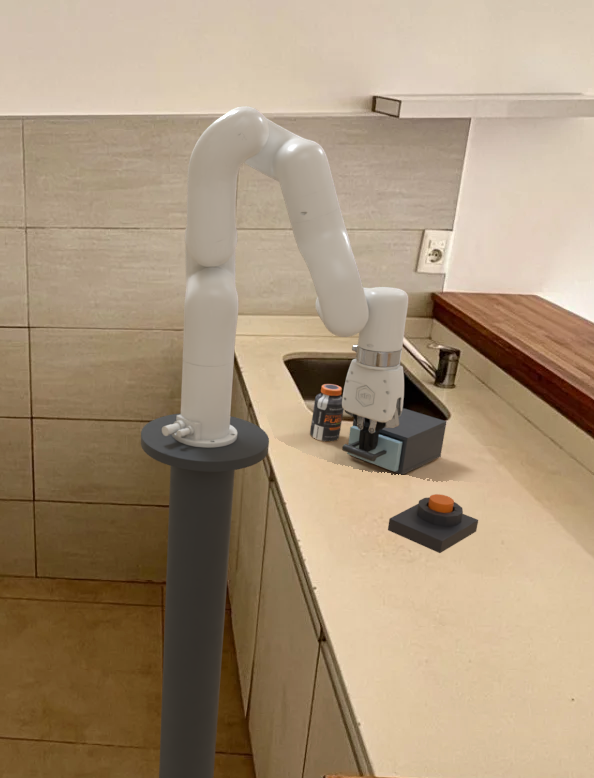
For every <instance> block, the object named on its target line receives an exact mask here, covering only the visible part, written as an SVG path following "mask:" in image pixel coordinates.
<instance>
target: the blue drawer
mask: <svg viewBox="0 0 594 778" xmlns="http://www.w3.org/2000/svg"><path fill="white" fill-rule="evenodd" d="M348 435H349V436H348V443H344V444H343V445H342V447H341V449H342V451H343V452H345V453H346V454H347V455H349V456H350V457H353V456H354V458H356V457H357V459H358V460H361V459H362V461H364V460H365V461H364V462H367V463H369V462H370V463H369V464H372V463H373V464H372V465H374V464H375V465H374V466H377V465H378V467H380V468H382V467H383V468H382V469H385V468H386V469H385V470H388V471H390V470H391V472H393V471H394V472H393V473H396V472H395V471H398V468H399V465H400V459H401V453H402V446H403V440H400V439H397V438H395V437H392V436H389V435H386V434H383V433H380V432H379V437H378V445H377V447H376V448H375V449H374V450H371V451H369V452H367V451H364V450H361V449H359V435H360V429H358V427H357V426H353V425H352V426H350V427H349V433H348Z"/></svg>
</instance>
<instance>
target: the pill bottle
mask: <svg viewBox="0 0 594 778" xmlns="http://www.w3.org/2000/svg"><path fill="white" fill-rule="evenodd" d="M342 390H343V388H342V386H339V385H337V384H334V383H324V384H322V385H321V389H320V393H318V394H316V396H315V399H314V404H313V410H312V417H311V423H310V430H309V435H310V436H311V438H313V439H314V438H315V440H317V441H321V442H325V441H332V442H335V441H334V440H336V441H338V440H339V438H340V434H341V429H342V421H343V416H344V411H345V410H344V409H343V407H342V398H343V396H342ZM337 439H338V440H337Z"/></svg>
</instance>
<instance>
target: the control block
mask: <svg viewBox="0 0 594 778" xmlns="http://www.w3.org/2000/svg"><path fill="white" fill-rule="evenodd" d="M429 499H430V496H429V497H423V498H421V499H420V500H418V503H417V504H415V505H413V506H411V507H409V508H407V509H405V510H402V511H401V512H399V513H398V514H395V515H393V516H392V517H390V518H389V519H388V525H387V526H388V527H387V531H389V532H391V533H393V534H396V535H398V536H400V537H401V538H404V539H406V540H409V541H411V542H413V543H416V544H418V545H420V546H423V547H425V548H426V549H429V550H431V551H434V552H435V553H439V554H442V553H443V552H445V551H447V550H448V549H449V548H452V547H453V546H455V545H456V544H458V543H459V542H461V541H463V540H464V539H466V538H469V537H470V536H471V535H473V534H475V533H476V532H477V530H478V529H477V528H478V525H479V519H477V518H474V517H472V516H470V515H467V514H464V511H463V507H462V506H461V505H460V504H458V503H457V502H456V501H454V505H453V510H452V512H451V513H442V512H437V511H434V510H432V509H430V508H429V507H428V504H429Z"/></svg>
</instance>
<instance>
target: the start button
mask: <svg viewBox="0 0 594 778" xmlns="http://www.w3.org/2000/svg"><path fill="white" fill-rule="evenodd" d="M429 497H430V499H429V504H428V507H429V508H430V509H432V510H434V511H437V512H442V513H451V512H452V510H453V505H454V502H455V500H454V499H453V498H452V497H451V496H448V495H445V494H440V493H439V494H438V493H436V494H431V495H430V496H429Z"/></svg>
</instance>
